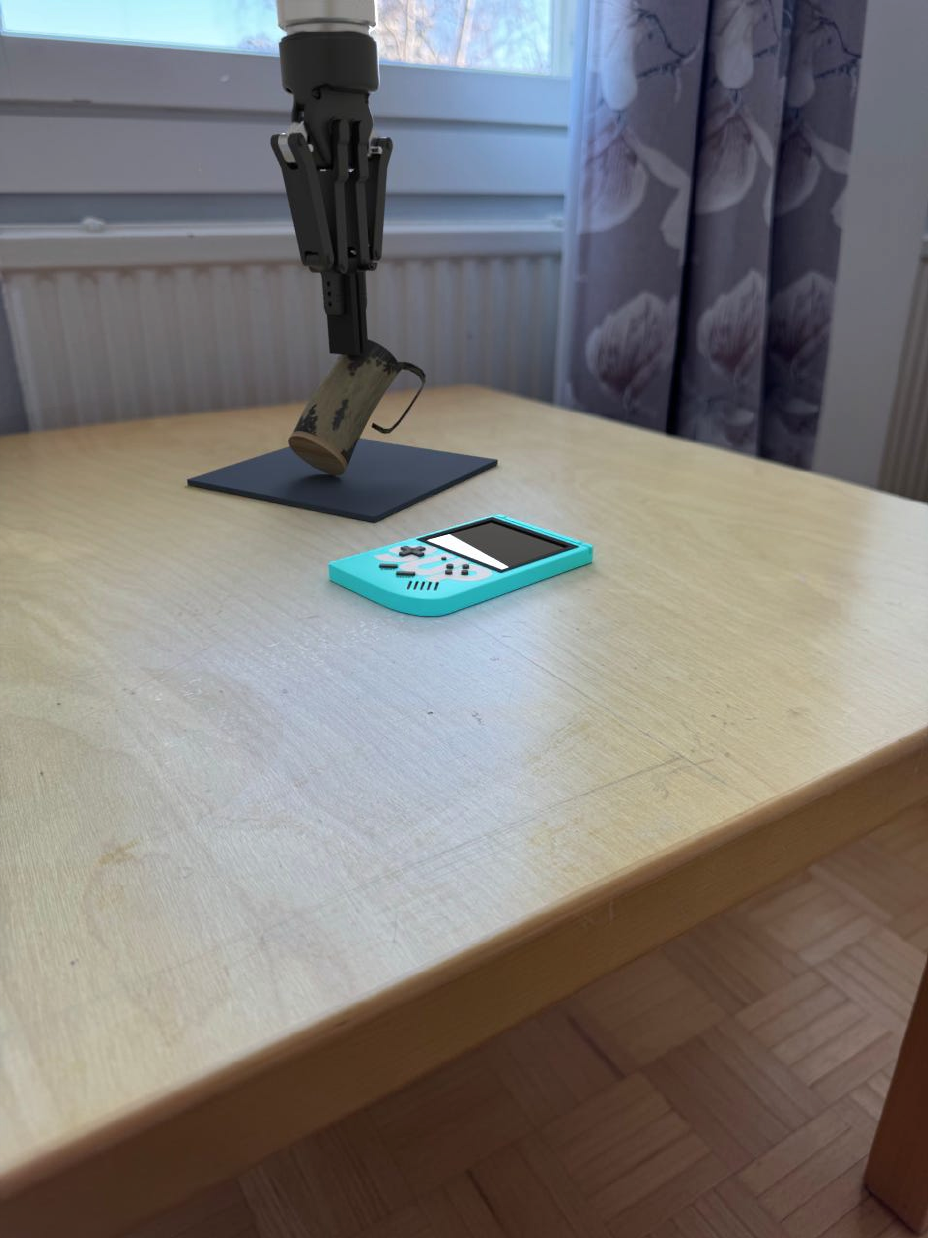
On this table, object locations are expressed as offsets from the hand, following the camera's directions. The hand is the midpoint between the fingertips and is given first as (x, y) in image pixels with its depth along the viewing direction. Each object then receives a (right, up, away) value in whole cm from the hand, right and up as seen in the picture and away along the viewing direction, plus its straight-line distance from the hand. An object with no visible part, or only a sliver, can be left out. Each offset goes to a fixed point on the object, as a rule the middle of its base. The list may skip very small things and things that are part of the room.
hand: (349, 352), depth 83 cm
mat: (-1, -10, +5) cm, 11 cm away
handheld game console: (+10, -20, -17) cm, 28 cm away
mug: (-2, -10, 0) cm, 10 cm away
